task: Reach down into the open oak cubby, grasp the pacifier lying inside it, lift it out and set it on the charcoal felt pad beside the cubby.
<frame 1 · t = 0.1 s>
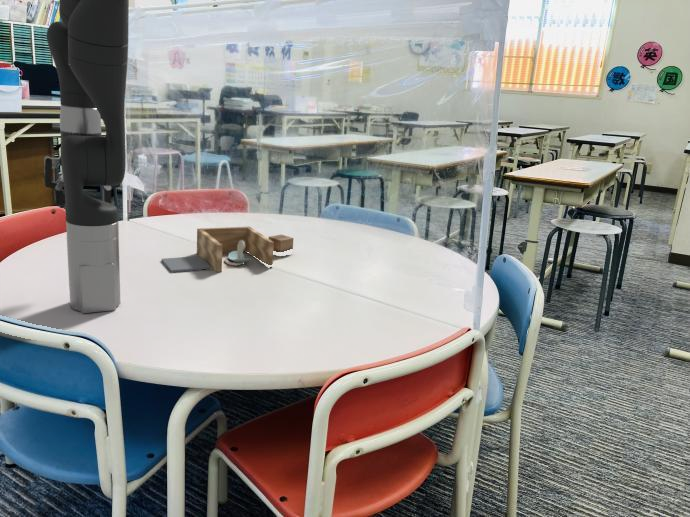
hand: (83, 207, 116), 17 cm above the table, tool pointing down, fingers open, 8 cm apart
walnut block: (280, 254, 157), on the table
cubby: (233, 260, 147), on the table
pad: (186, 265, 139), on the table
pacifier: (236, 263, 145), on the table
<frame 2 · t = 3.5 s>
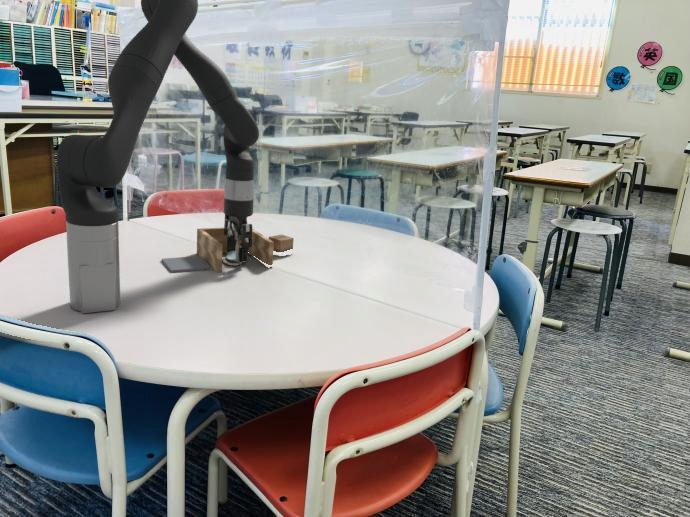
hand: (236, 256, 145), 2 cm above the table, tool pointing down, fingers open, 8 cm apart
nothing on the table moved.
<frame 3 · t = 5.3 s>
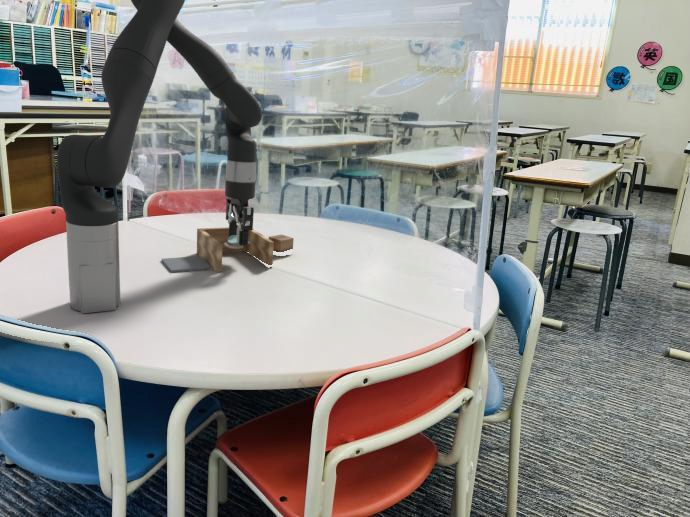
hand: (237, 241, 143), 6 cm above the table, tool pointing down, fingers closed on pacifier, 7 cm apart
pacifier: (235, 247, 143), point 4 cm above the table, touching gripper
everything else where it was.
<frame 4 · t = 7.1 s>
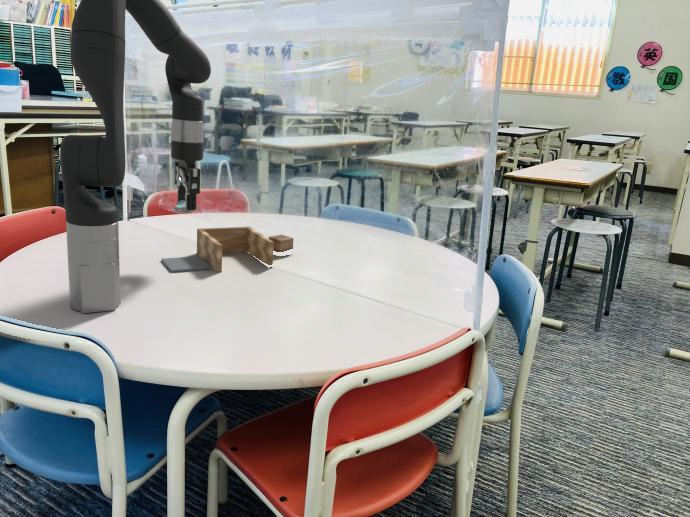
hand: (186, 206, 135), 15 cm above the table, tool pointing down, fingers closed on pacifier, 7 cm apart
pacifier: (184, 213, 135), point 14 cm above the table, touching gripper
everything else where it was.
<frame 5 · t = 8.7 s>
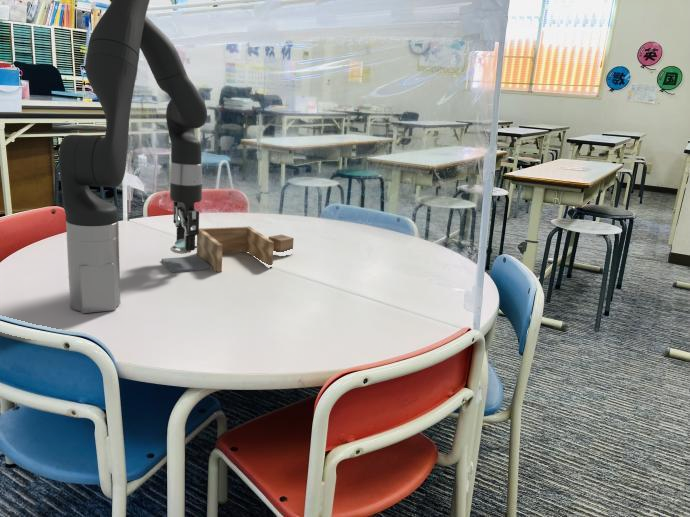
hand: (185, 245, 138), 5 cm above the table, tool pointing down, fingers closed on pacifier, 7 cm apart
pacifier: (183, 252, 138), point 3 cm above the table, touching gripper
everything else where it was.
when the fingers open (3 cm above the table, at t = 10.2 s): pacifier drops 1 cm, resting on pad.
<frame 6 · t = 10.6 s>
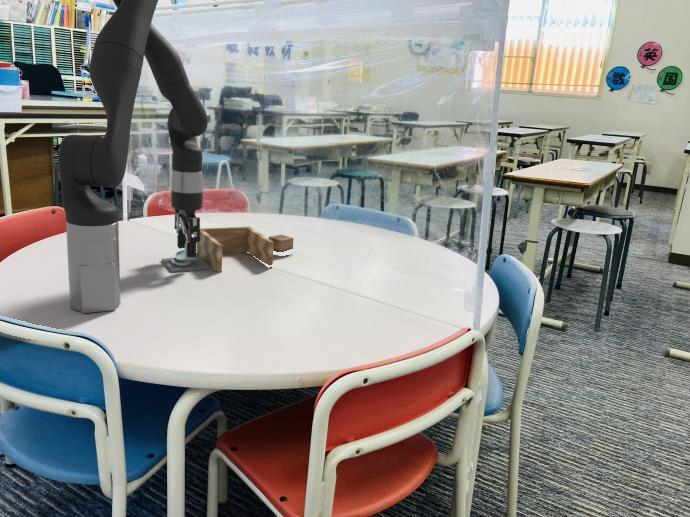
hand: (186, 252, 139), 3 cm above the table, tool pointing down, fingers open, 8 cm apart
pacifier: (183, 263, 139), resting on pad
everything else where it was.
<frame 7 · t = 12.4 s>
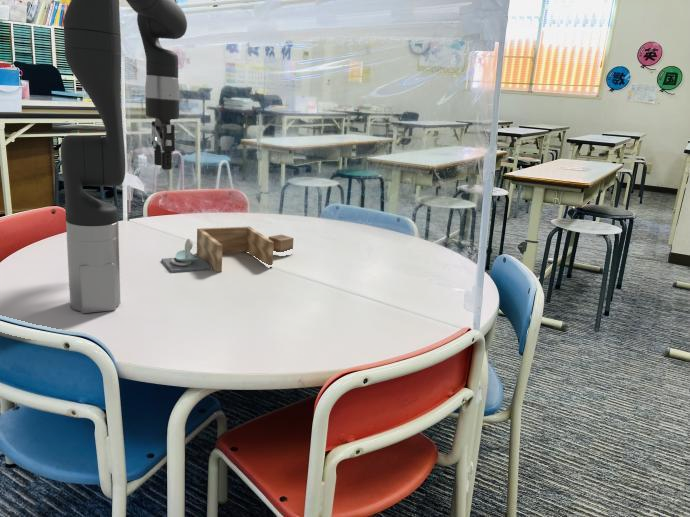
hand: (162, 167, 132), 25 cm above the table, tool pointing down, fingers open, 8 cm apart
nothing on the table moved.
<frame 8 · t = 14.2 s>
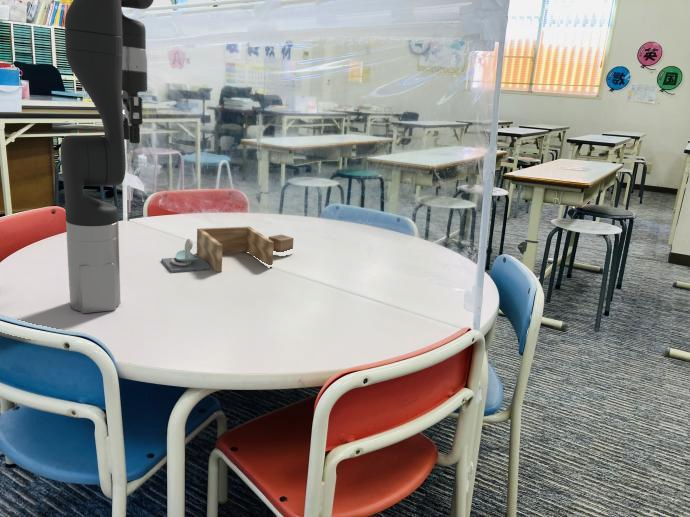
hand: (130, 141, 129), 30 cm above the table, tool pointing down, fingers open, 8 cm apart
nothing on the table moved.
at the end: pacifier 0.7 cm from the pad (horizontally); pacifier resting on pad; the gripper is holding nothing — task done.
